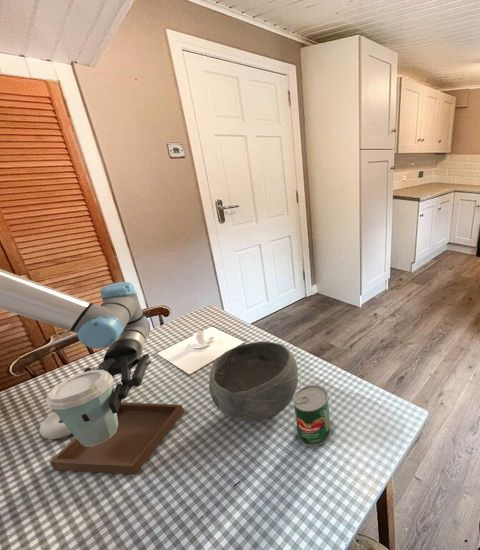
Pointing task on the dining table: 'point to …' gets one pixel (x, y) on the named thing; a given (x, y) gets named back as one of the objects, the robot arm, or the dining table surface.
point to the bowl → (253, 381)
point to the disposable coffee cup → (86, 406)
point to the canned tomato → (312, 415)
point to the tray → (122, 441)
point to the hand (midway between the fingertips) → (99, 412)
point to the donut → (54, 427)
